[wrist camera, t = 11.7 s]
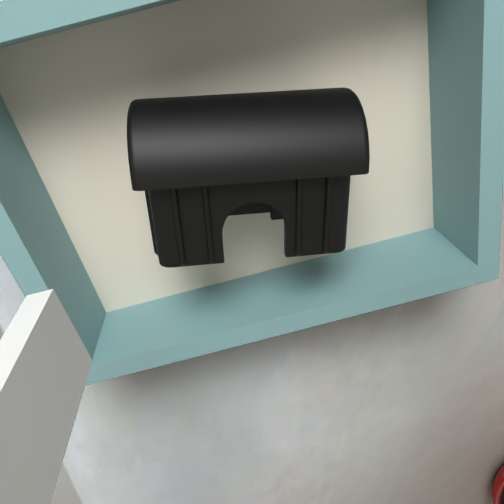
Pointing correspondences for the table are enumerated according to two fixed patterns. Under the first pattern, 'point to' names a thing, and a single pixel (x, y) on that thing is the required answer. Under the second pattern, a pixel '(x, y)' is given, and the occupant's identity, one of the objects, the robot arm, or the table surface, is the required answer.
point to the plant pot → (498, 487)
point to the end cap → (246, 167)
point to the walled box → (248, 225)
